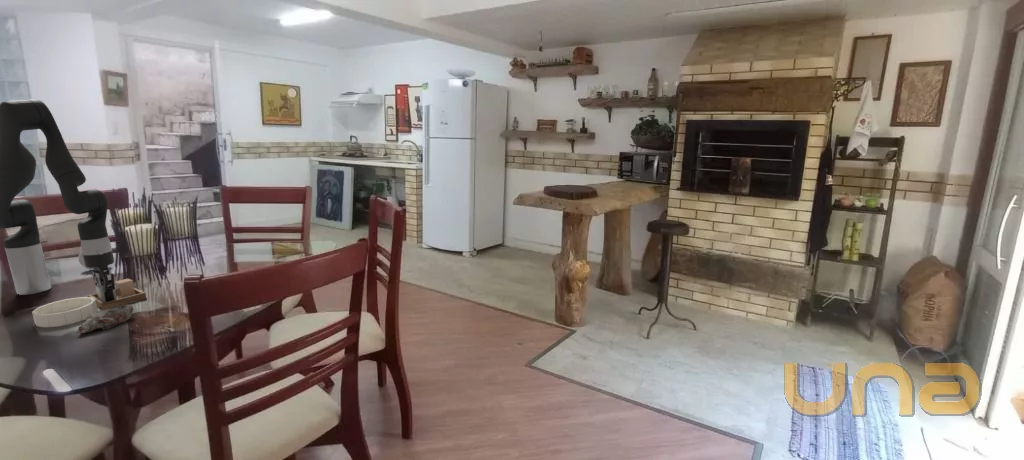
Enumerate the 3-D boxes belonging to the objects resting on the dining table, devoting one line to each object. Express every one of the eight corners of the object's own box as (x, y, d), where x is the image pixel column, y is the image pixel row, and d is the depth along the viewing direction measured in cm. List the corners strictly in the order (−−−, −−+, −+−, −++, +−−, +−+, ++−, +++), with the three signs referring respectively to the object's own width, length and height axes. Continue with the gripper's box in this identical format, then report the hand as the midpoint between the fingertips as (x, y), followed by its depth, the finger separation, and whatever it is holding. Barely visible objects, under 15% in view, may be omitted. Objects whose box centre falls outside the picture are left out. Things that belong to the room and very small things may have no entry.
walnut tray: (89, 302, 168) (87, 295, 167) (131, 291, 177) (129, 285, 177) (103, 310, 160) (101, 303, 159) (146, 299, 169) (145, 292, 169)
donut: (82, 272, 201) (76, 249, 198) (80, 271, 203) (74, 247, 200) (112, 266, 208) (107, 243, 206) (110, 265, 210) (105, 242, 208)
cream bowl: (30, 321, 153) (27, 308, 152) (89, 306, 164) (86, 294, 163) (43, 332, 144) (40, 318, 144) (104, 315, 156) (101, 303, 155)
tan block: (117, 298, 170) (114, 281, 169) (131, 294, 173) (128, 278, 172) (122, 300, 168) (118, 283, 166) (136, 296, 171) (132, 280, 170)
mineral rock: (81, 338, 140) (77, 324, 139) (72, 331, 145) (69, 317, 144) (142, 321, 152) (139, 307, 151) (132, 315, 156) (129, 302, 155)
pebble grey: (99, 302, 166) (95, 286, 165) (113, 299, 169) (110, 282, 168) (103, 305, 164) (99, 288, 162) (117, 301, 167) (114, 284, 166)
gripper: (75, 250, 163) (87, 299, 167) (90, 257, 155) (101, 308, 159) (103, 245, 169) (114, 292, 173) (118, 251, 161) (129, 300, 165)
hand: (108, 299), depth 166 cm, fingers closed on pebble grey, 4 cm apart
